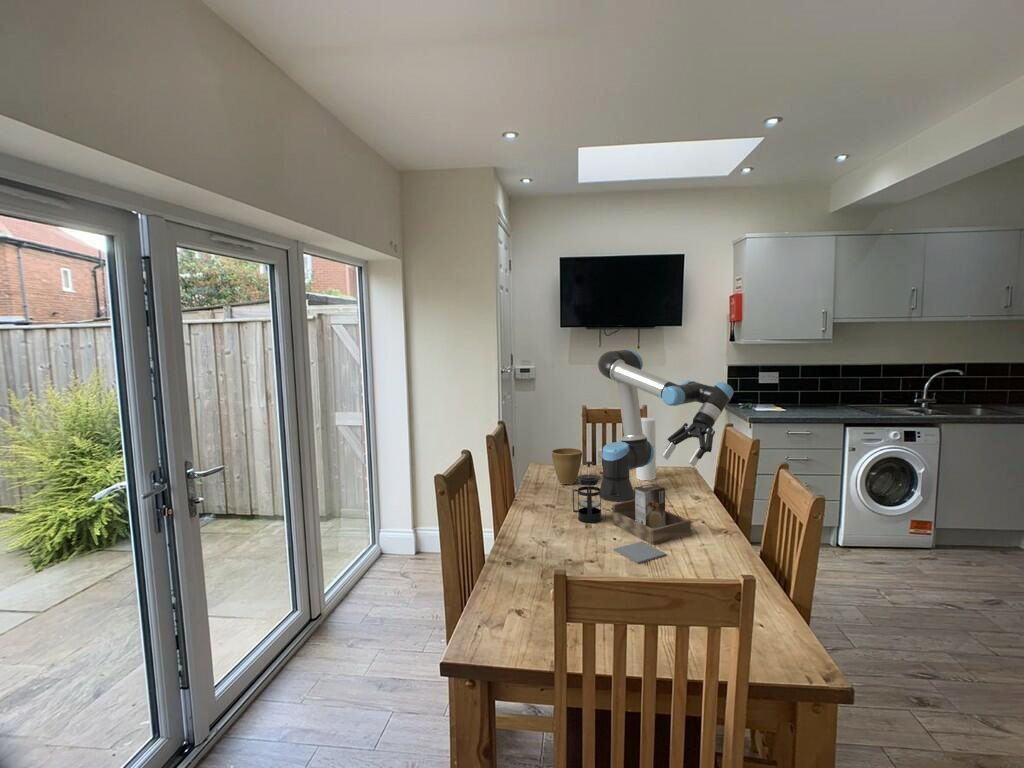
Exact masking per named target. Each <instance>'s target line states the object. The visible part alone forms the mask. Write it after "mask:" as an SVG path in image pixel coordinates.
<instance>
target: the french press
mask: <svg viewBox="0 0 1024 768" xmlns="http://www.w3.org/2000/svg"><path fill="white" fill-rule="evenodd" d="M583 464H584V465H586V466H587V468H588V469H587V470H588V473H587V474H580V475H578V476H577V480H578V484H579V485H581V487H578V489H577V488H576V489H572V505H573V507H572V509H573V513H578V515H577V521H579V522H580V521H581V522H580V523H584V524H597V522H598V523H600V522H602V519H603V518H602V498H601V489H600V488H601V487H598V486H597V487H596V485H597V484H598V483H599V481H600V480H601V479H602V477H601V476H600V475H597V474H590V467H591V465H594V464H595V462H593V461H588V460H587V461H584V462H583ZM584 490H585V491H586V492H582V491H584ZM592 490H593V491H596V492H592ZM575 492H577V507H578V508H577V509H575ZM579 495H580V496H582V497H583V496H584V497H586V499H584V500H581V501H579V500H580V496H579ZM599 495H600V496H599ZM597 496H599V498H600V499H599V501H598V500H594V499H592V498H593V497H597ZM580 507H581V508H580ZM598 507H600V508H598Z"/></svg>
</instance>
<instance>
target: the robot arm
mask: <svg viewBox="0 0 1024 768" xmlns="http://www.w3.org/2000/svg"><path fill="white" fill-rule="evenodd" d="M597 363H598V364H597V367H598V371H599V372H600V374H602V376H604V377H605V378H608V379H610V380H612V381H613V382H615V384H616V385H617V390H618V391H617V392H618V398H619V407H620V416H621V422H622V430H623V431H622V433H623V436H622V437H621V439H620V440H621V441H616V442H615V441H614V442H609V443H607V444H605V445H604V446H603V447H602V454H601V458H602V462H601V463H602V481H601V483H600V487H599V488H600V489H601V500H605V501H609V502H625V501H630V500H633V499H634V498H635V490H634V489H633V486H632V484H631V483H632V482H631V480H630V471H631V470H634V469H635V470H636V468H639V467H643V466H645V465H647V464H649V463H650V462H651V461H652V459H653V456H654V449H653V446H652V445H651V444H650V442H648V441H647V437H646V436H645V435H644V434H643V430H642V422H641V418H642V415H641V408H640V407H641V406H640V400H639V391H638V389H639V390H641V391H643V392H645V393H648V394H651V395H653V396H654V397H657V398H659V399H661V400H662V401H663V402H664V404H666V405H667V406H670V407H671V406H673V407H674V406H675V407H677V406H680V405H685V404H690V403H700V404H702V405H701V406H700V407H699V409H698V411H697V412H696V414H695V415H694V417H693V418H692V423H691V424H688V423H687V422H685V423H683V425H682V426H681V427H680V428H679V429H677V430H676V431H675V432H674V433H673V434H672V435H670V436H669V437H667V441H668V444H667V447H666V448H665V451H664V452H663V454H662V457H663V458H664V459H665V460H667V461H668V460H669V458H671V456H672V454H673V452H674V451H675V450H676V448H677V445H679V444H680V443H682V442H684V441H686V440H687V439H690V438H696V439H698V440H699V442H698V443H699V448H698V447H697V448H696V450H695V452H694V454H693V455H692V457H691V458H690V460H689V461H688V464H690V466H692V467H693V468H695V467H696V465H697V463H698V462H699V460H701V459H702V458H703V457H704V455H705V454H706V453H707V452H708V453H712V451H713V450H712V448H713V442H714V441H713V440H714V435H715V434H716V431H715V430H714V428H713V427H714V426H715V423H716V422H717V420H718V418H719V417H720V416H721V414H722V413H723V411H724V409H725V408H726V407H727V405H728V403H729V402H730V401H731V399H732V397H733V395H734V389H733V387H732V386H731V385H730V384H728V383H726V382H723V381H720V382H716V383H715V384H714V386H712V385H707V384H703V383H701V382H697V381H692V380H685V381H684V382H683V383H682V384H677V383H674V382H672V381H669V380H667V379H664V378H661V377H659V376H658V375H656V374H655V375H654V374H652V373H649V372H647V371H645V370H642V369H643V365H644V363H643V359H642V357H641V355H640V354H639V353H638V352H637V351H635V350H631V349H622V350H621V349H620V350H611V351H606V352H604V353H602V355H601V356H600V357H599V359H598V362H597ZM598 496H599V497H600V495H598Z"/></svg>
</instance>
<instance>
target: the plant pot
mask: <svg viewBox="0 0 1024 768" xmlns="http://www.w3.org/2000/svg"><path fill="white" fill-rule="evenodd" d="M551 456H552V457H551V458H552V462H553V467H554V471H555V473H556V477H557V479H558V482H559V484H560V483H562V484H573V485H575V484H576V481H577V480H578V478H577V477H578V476H579V471H580V468H581V463H582V458H583V457H582V456H583V450H582V449H579V448H574V447H573V448H571V447H563V448H562V447H561V448H557V449H556V448H555V449H553V450H551ZM574 483H575V484H574ZM562 484H561V485H562Z"/></svg>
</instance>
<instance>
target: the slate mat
mask: <svg viewBox="0 0 1024 768" xmlns="http://www.w3.org/2000/svg"><path fill="white" fill-rule="evenodd" d="M613 551H615V552H616V553H618V554H619V553H620V555H621V554H622V555H621V556H623V557H625V558H626V557H627V558H626V559H628V558H629V560H630V561H632V562H633V561H634V563H635V564H636V565H638V564H642V563H646V562H648V561H651V560H655V559H659V558H662V557H667V553H666V552H664V551H662V550H660V549H658V548H656V547H654V546H652V545H650V544H647V542H645V541H643V540H641V541H638V542H635V543H630V544H626V545H623V546H619V547H616V548H614V549H613Z"/></svg>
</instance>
